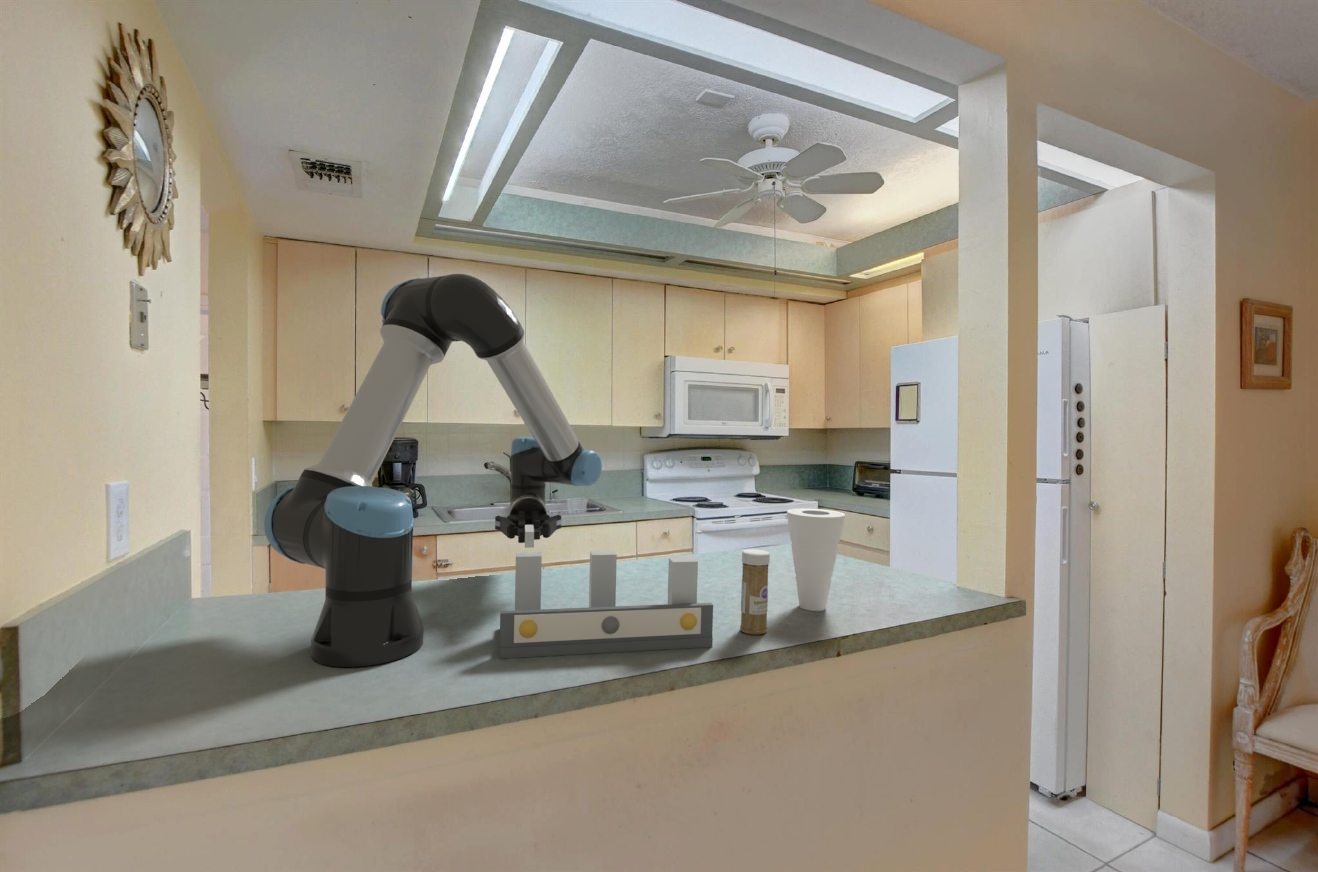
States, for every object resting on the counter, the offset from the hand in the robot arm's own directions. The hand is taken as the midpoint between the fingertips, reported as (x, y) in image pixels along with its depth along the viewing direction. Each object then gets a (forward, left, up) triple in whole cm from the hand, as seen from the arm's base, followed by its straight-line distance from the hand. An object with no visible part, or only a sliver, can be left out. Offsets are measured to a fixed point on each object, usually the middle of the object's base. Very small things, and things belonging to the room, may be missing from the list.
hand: (529, 539), depth 107 cm
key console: (+12, -9, -14) cm, 20 cm away
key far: (+24, -12, -12) cm, 29 cm away
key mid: (+12, -6, -12) cm, 18 cm away
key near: (0, -6, -12) cm, 14 cm away
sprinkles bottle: (+37, -10, -14) cm, 41 cm away
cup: (+53, +1, -14) cm, 55 cm away
